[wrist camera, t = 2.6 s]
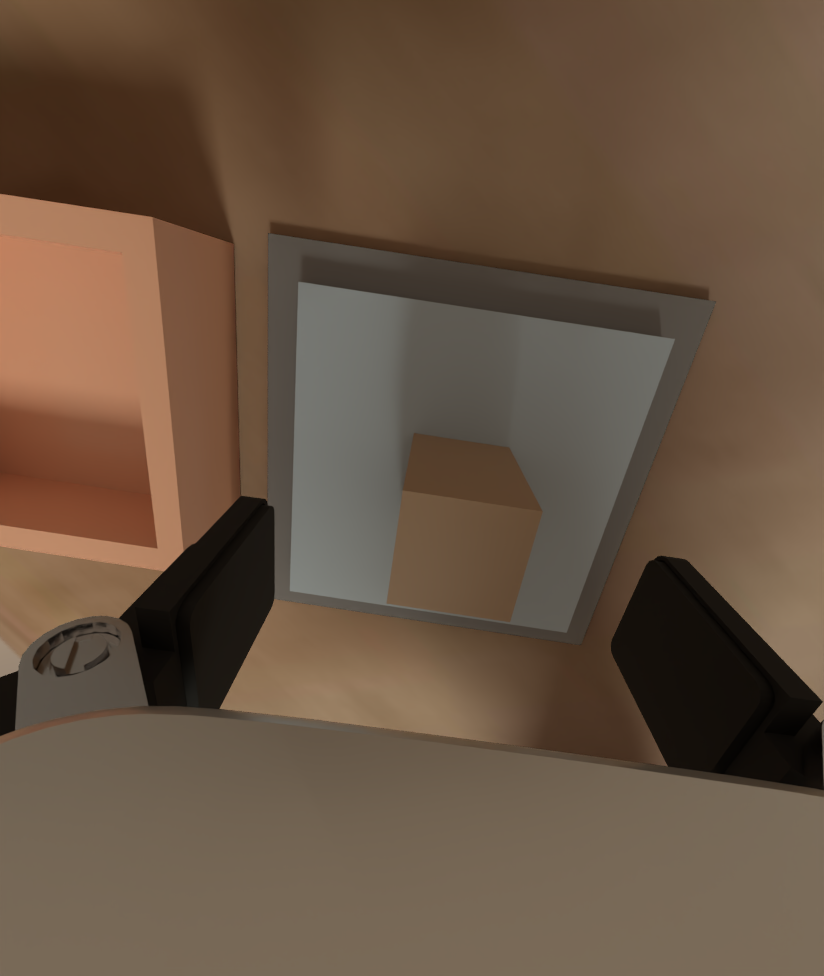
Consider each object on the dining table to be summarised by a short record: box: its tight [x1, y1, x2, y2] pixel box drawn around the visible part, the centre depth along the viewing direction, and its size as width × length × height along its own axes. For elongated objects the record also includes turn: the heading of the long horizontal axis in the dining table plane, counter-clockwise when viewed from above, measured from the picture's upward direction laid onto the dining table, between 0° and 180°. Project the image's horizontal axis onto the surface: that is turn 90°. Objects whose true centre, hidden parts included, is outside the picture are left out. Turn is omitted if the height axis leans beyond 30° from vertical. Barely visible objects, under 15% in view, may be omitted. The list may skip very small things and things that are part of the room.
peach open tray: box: [0, 194, 241, 571], centre depth 16 cm, size 12×12×5 cm
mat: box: [268, 233, 716, 645], centre depth 19 cm, size 17×17×1 cm
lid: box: [290, 282, 675, 633], centre depth 16 cm, size 14×14×7 cm
